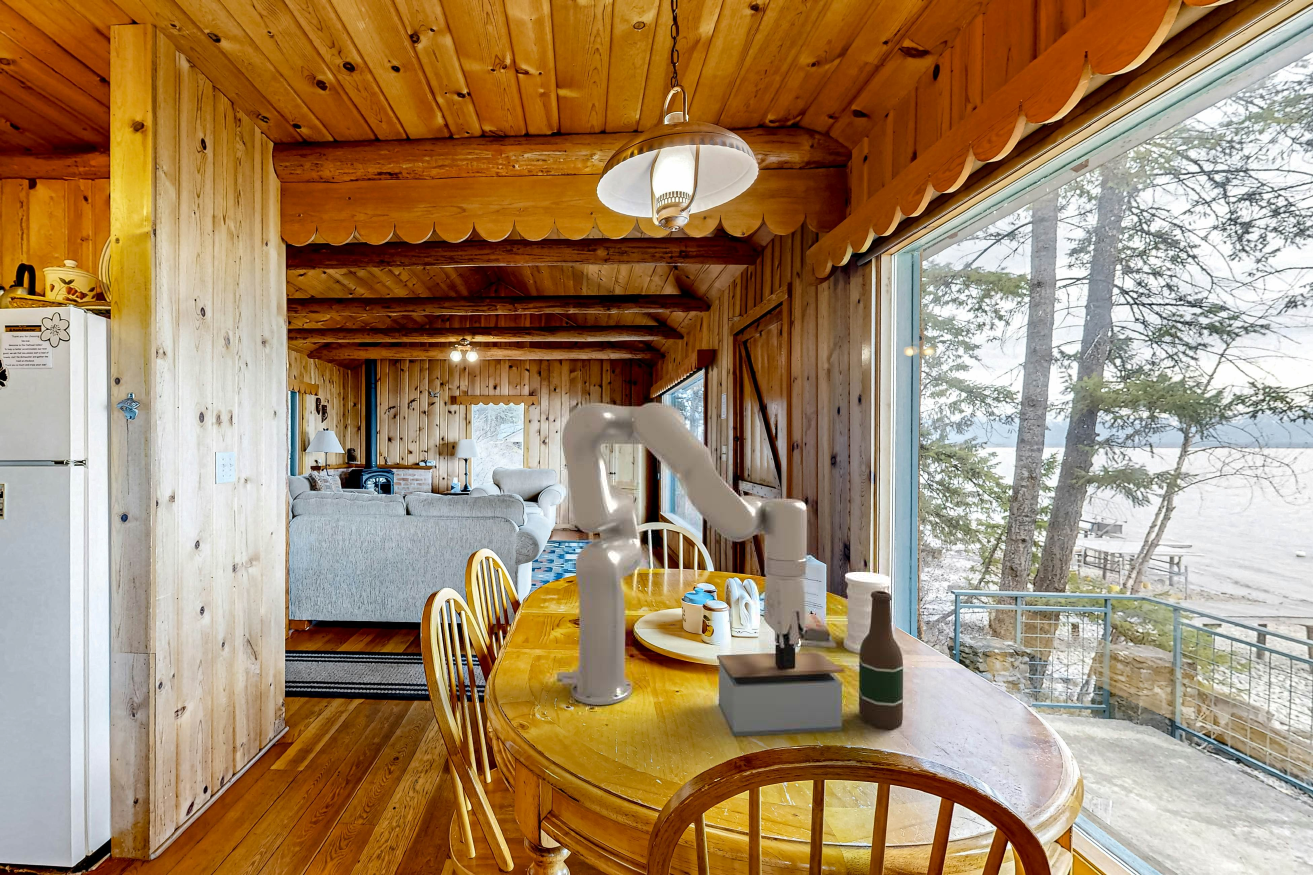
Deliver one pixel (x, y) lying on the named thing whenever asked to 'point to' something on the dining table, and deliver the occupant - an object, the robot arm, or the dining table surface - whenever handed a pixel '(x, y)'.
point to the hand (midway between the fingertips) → (785, 667)
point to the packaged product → (816, 633)
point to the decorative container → (861, 605)
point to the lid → (766, 666)
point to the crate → (780, 703)
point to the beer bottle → (881, 669)
